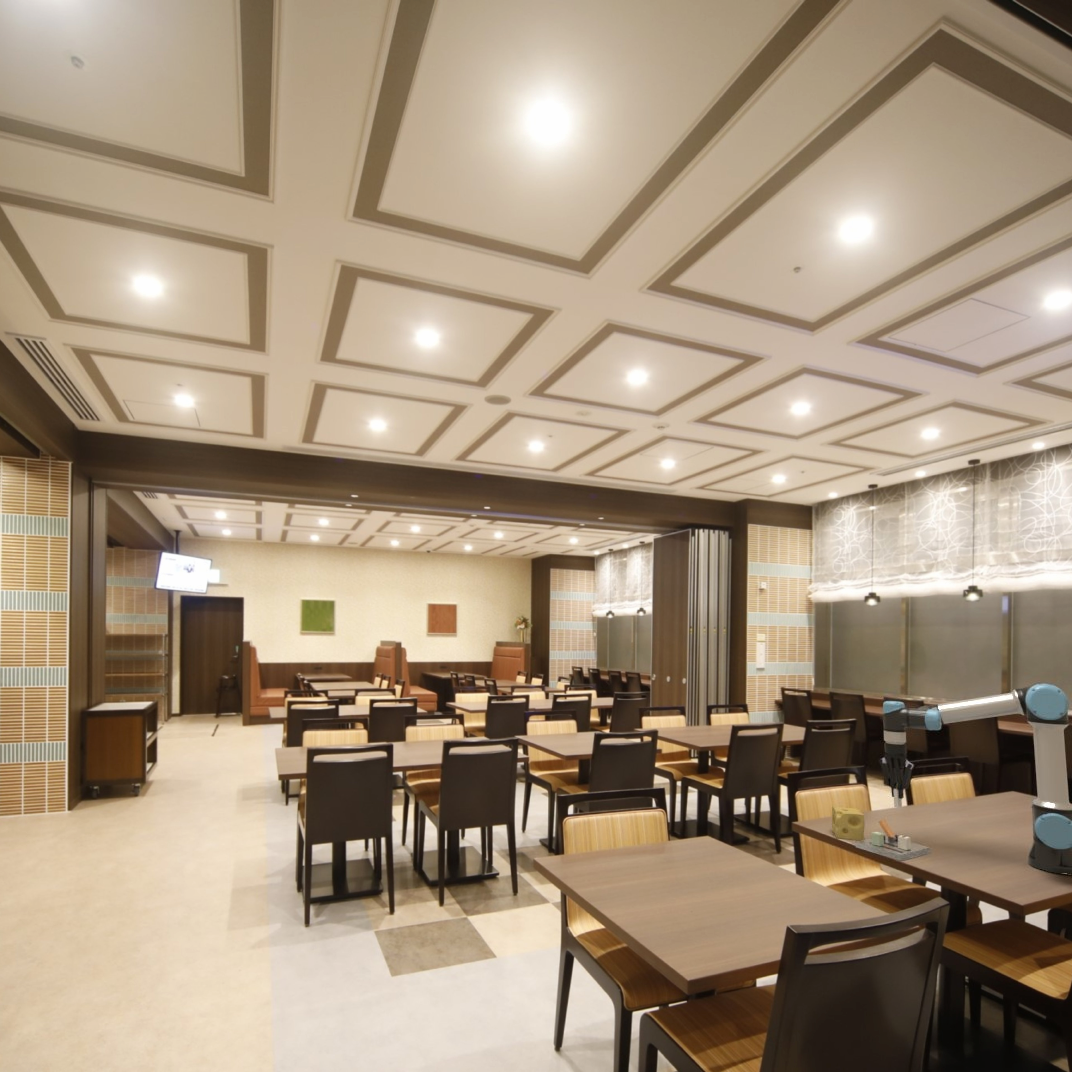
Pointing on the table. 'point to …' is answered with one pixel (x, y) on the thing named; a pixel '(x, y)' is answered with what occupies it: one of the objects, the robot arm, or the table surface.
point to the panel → (893, 848)
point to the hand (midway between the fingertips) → (898, 806)
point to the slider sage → (877, 838)
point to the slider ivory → (904, 842)
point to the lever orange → (887, 829)
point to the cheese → (847, 823)
